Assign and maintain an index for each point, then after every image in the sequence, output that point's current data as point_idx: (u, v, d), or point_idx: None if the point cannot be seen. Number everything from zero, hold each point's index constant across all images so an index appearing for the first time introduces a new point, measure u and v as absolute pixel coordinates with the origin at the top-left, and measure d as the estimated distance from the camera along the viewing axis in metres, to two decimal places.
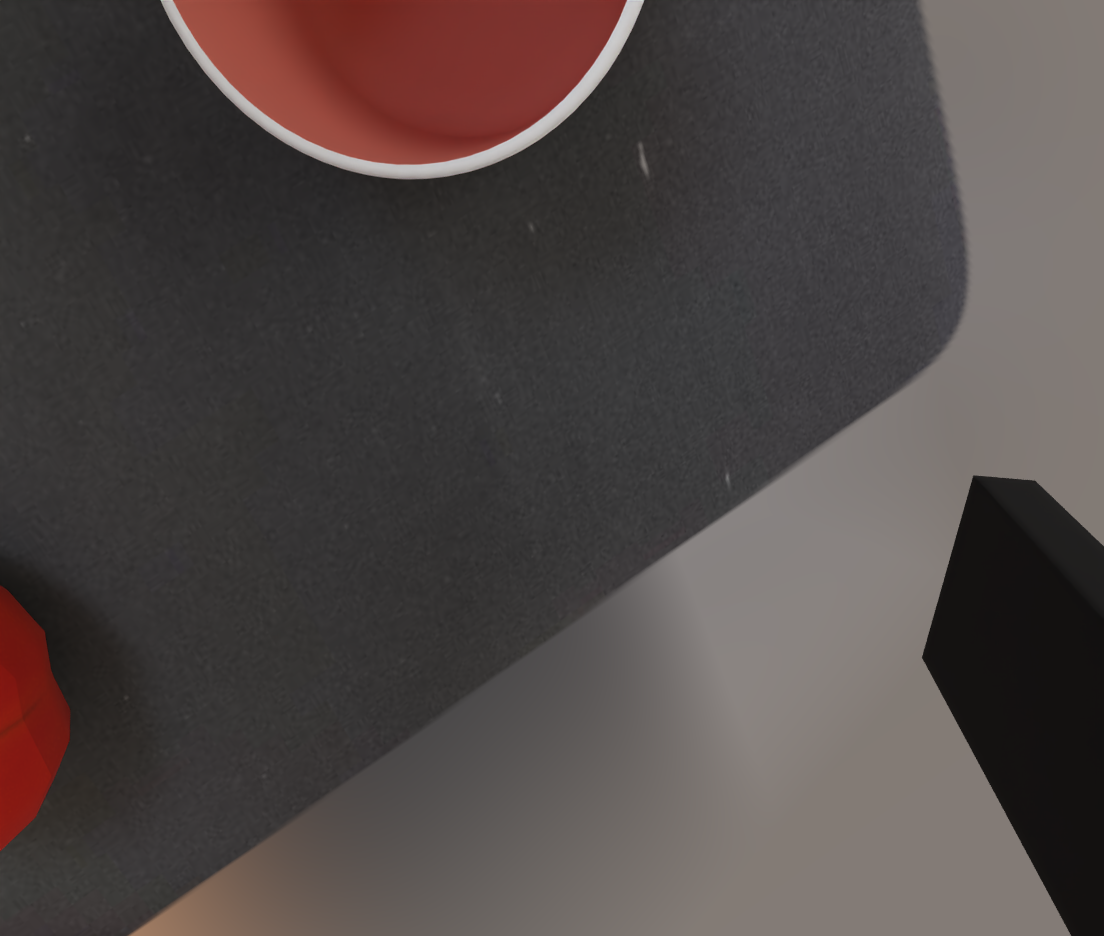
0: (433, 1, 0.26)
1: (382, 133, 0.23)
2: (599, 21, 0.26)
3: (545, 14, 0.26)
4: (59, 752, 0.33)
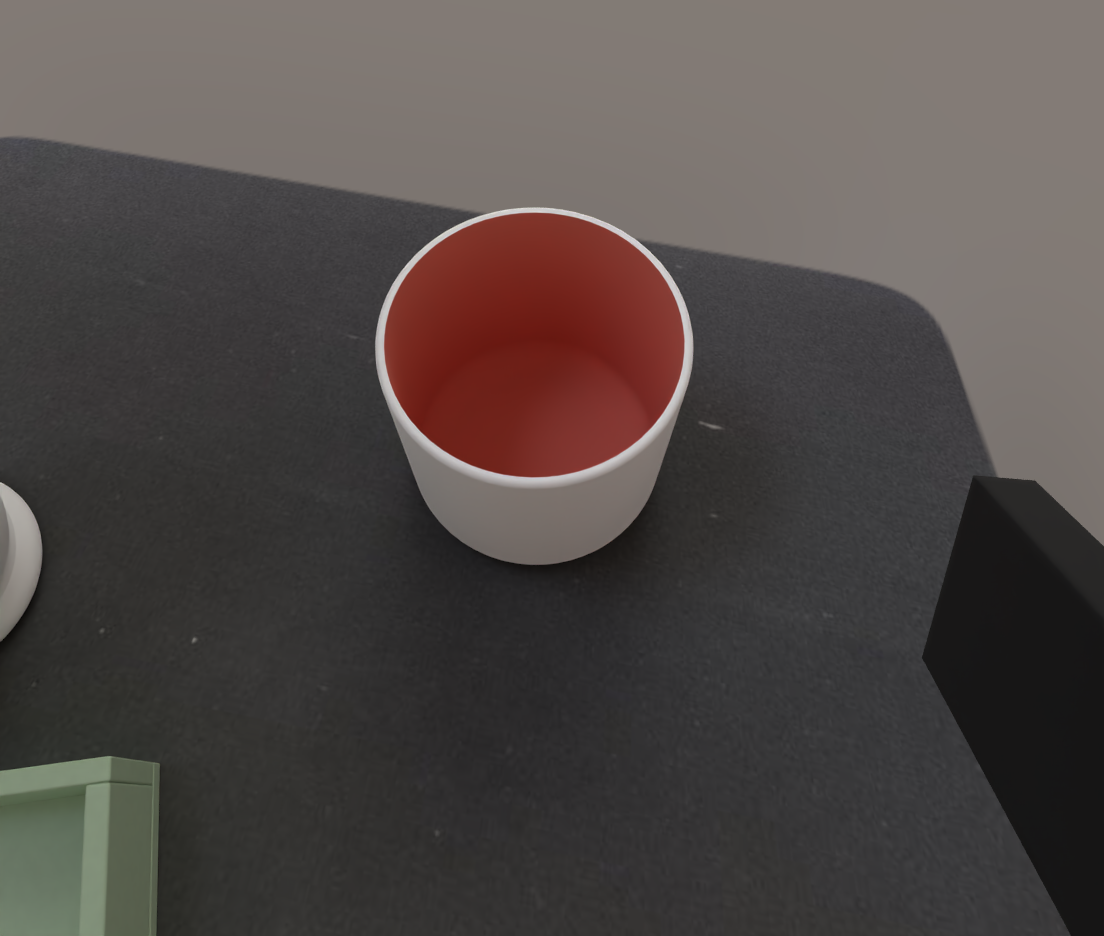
0: None
1: None
2: (618, 401, 0.38)
3: (594, 429, 0.38)
4: None
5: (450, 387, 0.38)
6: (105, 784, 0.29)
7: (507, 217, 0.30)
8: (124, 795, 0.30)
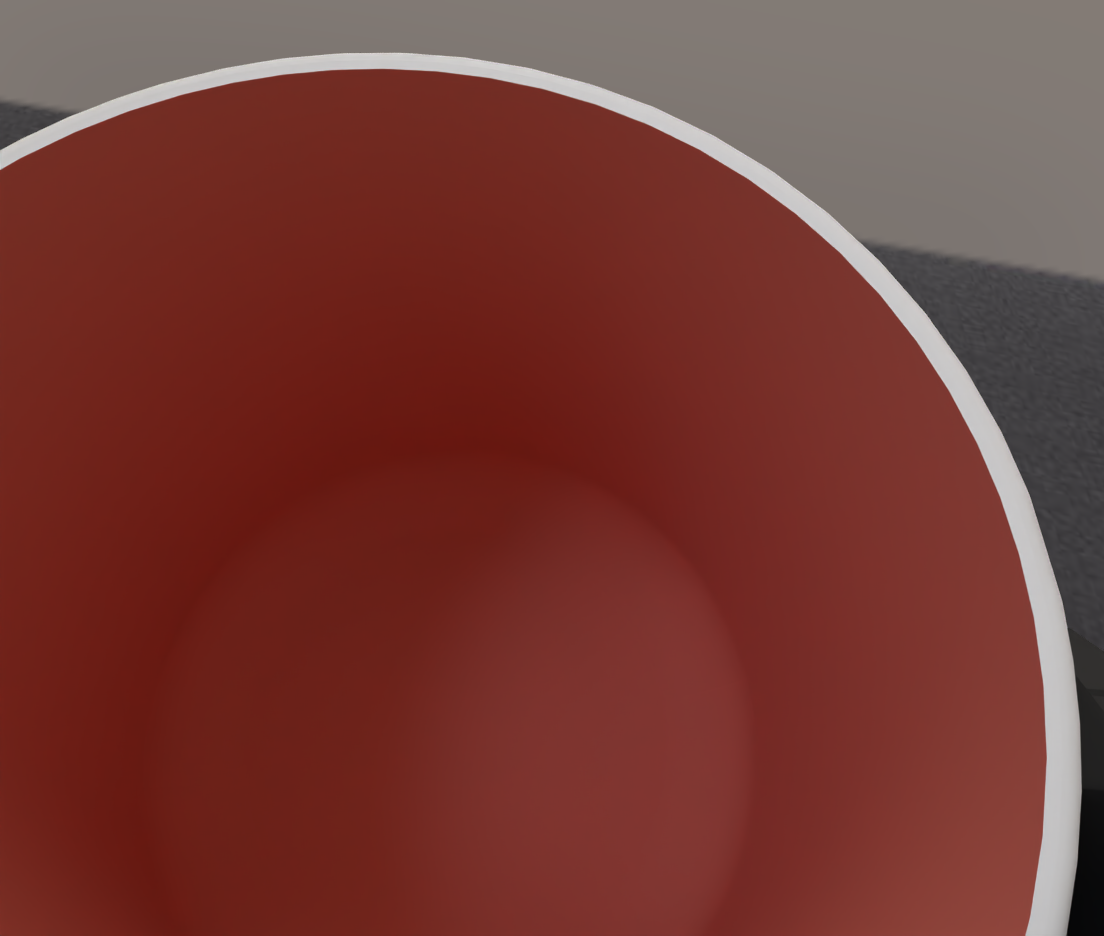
0: (480, 830, 0.15)
1: None
2: (658, 598, 0.16)
3: (602, 671, 0.15)
4: None
5: (251, 568, 0.16)
6: None
7: (273, 90, 0.08)
8: None
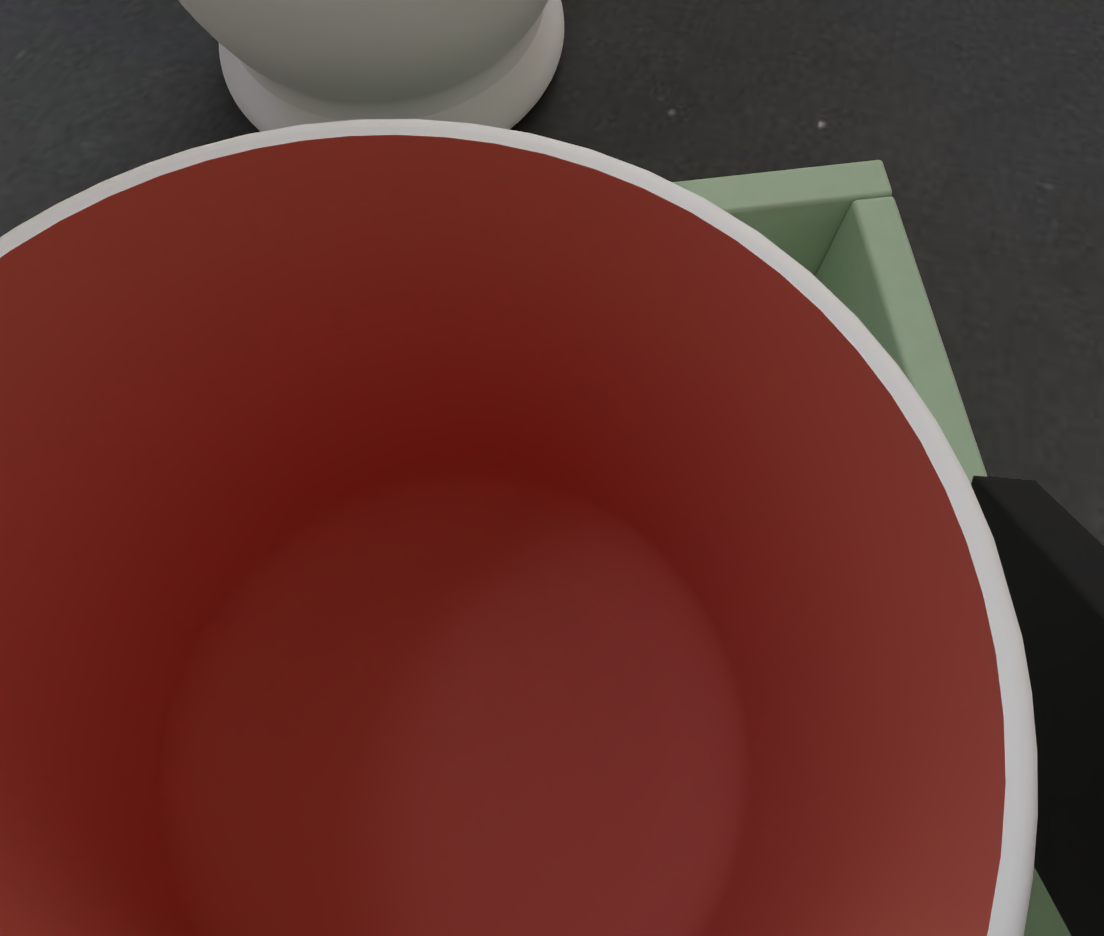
0: (484, 839, 0.15)
1: None
2: (655, 615, 0.16)
3: (602, 685, 0.16)
4: None
5: (262, 585, 0.16)
6: (886, 199, 0.16)
7: (293, 154, 0.08)
8: None
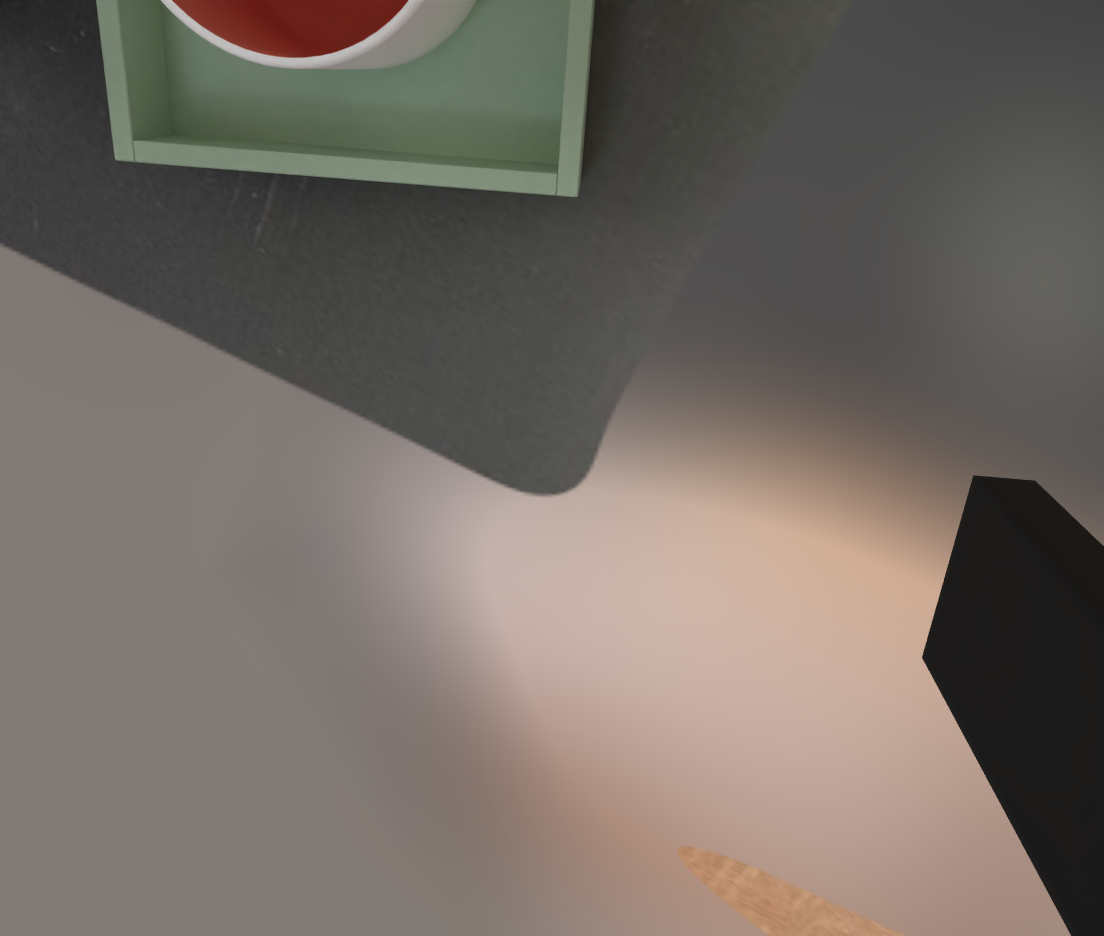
0: None
1: None
2: None
3: None
4: None
5: (278, 10, 0.34)
6: None
7: None
8: None
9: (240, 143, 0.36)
